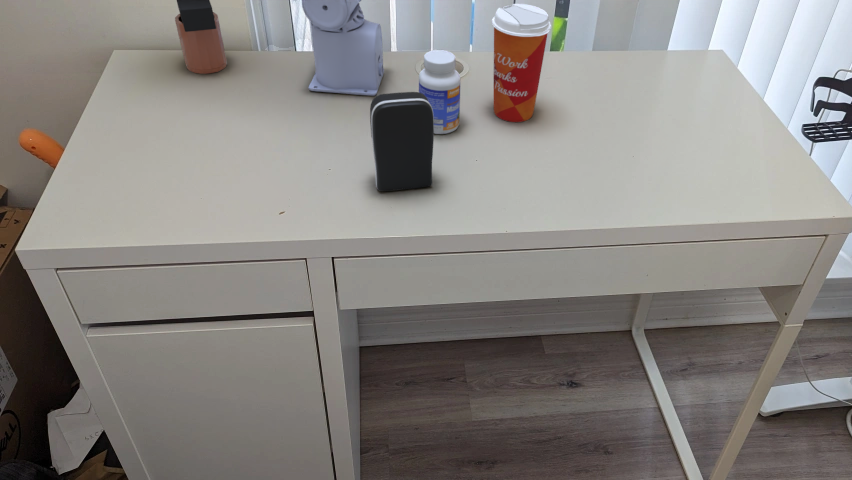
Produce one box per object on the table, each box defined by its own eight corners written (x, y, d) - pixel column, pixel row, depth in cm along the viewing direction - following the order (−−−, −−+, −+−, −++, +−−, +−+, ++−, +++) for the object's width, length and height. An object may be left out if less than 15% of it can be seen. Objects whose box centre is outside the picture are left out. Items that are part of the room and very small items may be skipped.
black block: (216, 29, 98) (212, 7, 96) (185, 32, 97) (179, 10, 95) (207, 3, 104) (203, -18, 102) (177, 6, 103) (172, -16, 101)
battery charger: (428, 170, 89) (428, 85, 82) (434, 187, 87) (435, 101, 79) (371, 176, 88) (366, 89, 80) (376, 194, 85) (371, 106, 77)
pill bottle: (453, 138, 95) (455, 69, 89) (413, 131, 96) (413, 62, 89) (463, 118, 99) (466, 51, 93) (425, 111, 100) (425, 44, 93)
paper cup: (474, 108, 101) (479, 9, 92) (514, 93, 106) (523, -3, 96) (512, 132, 97) (522, 31, 88) (552, 115, 102) (565, 18, 92)
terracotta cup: (232, 58, 107) (223, 11, 103) (220, 75, 103) (210, 27, 98) (194, 54, 107) (183, 8, 102) (180, 72, 103) (168, 24, 98)
